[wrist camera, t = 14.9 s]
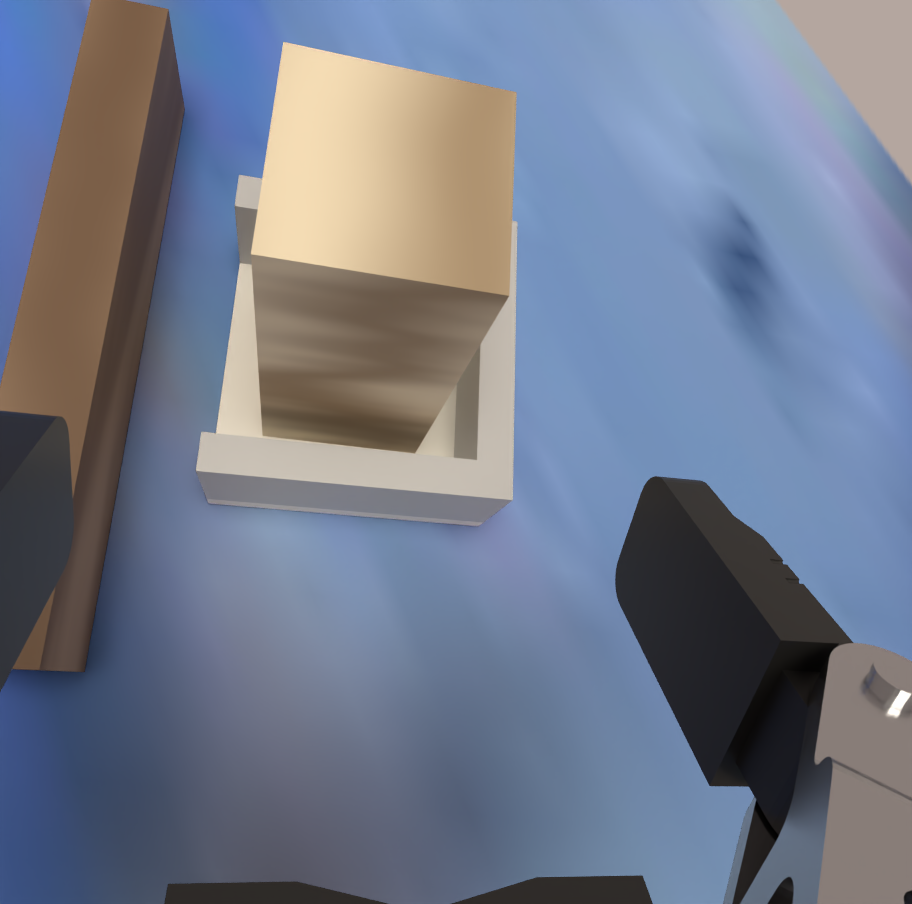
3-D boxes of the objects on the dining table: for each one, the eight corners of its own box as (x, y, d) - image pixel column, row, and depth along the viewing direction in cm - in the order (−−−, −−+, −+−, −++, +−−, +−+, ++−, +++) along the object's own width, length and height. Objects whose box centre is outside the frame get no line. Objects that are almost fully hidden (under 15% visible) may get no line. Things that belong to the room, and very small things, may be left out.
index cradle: (208, 503, 22) (195, 470, 18) (244, 245, 24) (239, 174, 21) (478, 526, 23) (512, 500, 20) (486, 281, 26) (517, 221, 22)
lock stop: (262, 435, 22) (250, 254, 13) (281, 298, 23) (283, 42, 14) (414, 453, 23) (509, 296, 14) (424, 319, 24) (516, 92, 15)
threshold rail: (0, 668, 19) (-66, 665, 16) (120, 97, 25) (92, -7, 21) (84, 672, 20) (39, 669, 16) (184, 109, 25) (168, 9, 21)
